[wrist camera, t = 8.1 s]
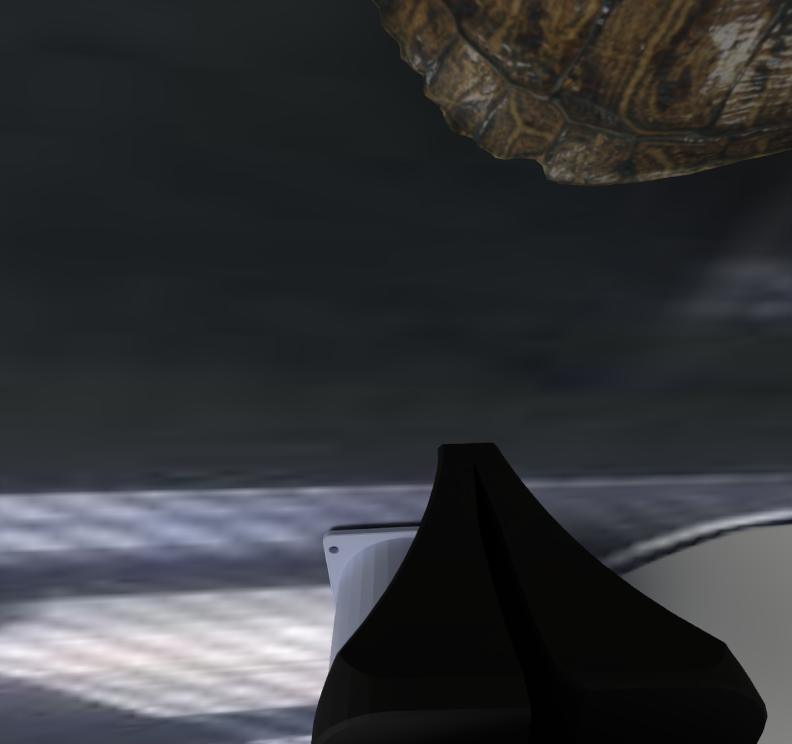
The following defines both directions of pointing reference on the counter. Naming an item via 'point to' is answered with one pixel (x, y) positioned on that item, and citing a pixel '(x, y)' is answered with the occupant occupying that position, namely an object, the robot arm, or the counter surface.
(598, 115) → the turtle shell
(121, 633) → the counter surface
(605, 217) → the counter surface
